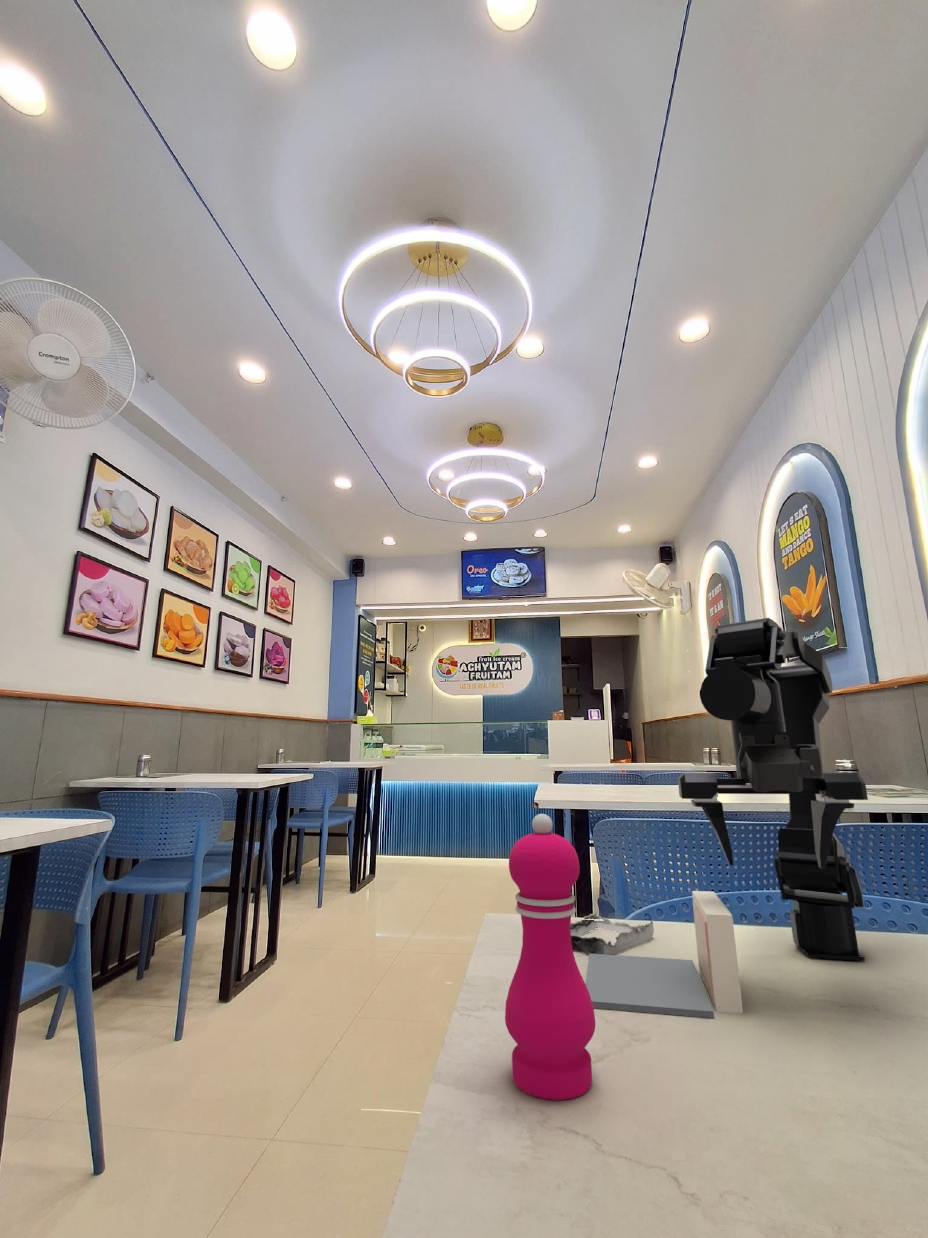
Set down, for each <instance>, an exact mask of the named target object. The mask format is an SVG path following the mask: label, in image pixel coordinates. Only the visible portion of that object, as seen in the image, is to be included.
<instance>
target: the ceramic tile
mask: <svg viewBox="0 0 928 1238" xmlns="http://www.w3.org/2000/svg"><path fill="white" fill-rule="evenodd" d="M691 894H692V908H693V909H692V910H693V911H692V912H693V918H694V919H693V921H694V931H695V940H696V951H697V953H696V954H697V961H698V967H699V973H700V975H701V978H702V980H703V983H704V986H705V988H706V991H707V992H708V995H709V997H710V1000H711V1002H712V1005H713V1007H714V1009H715V1012H720V1013H733V1014H744V1010H743V1001H742V992H741V982H740V973H739V964H738V955H737V954H738V953H737V947H736V945H737V944H736V936H735V928H734V920H733V917H734V916H733V914H732V913H731V912H730V911H729V909H728V908H727V907H726V905H725V904H724V903H723V902H722V900H721V899H720V898H719V896H718V895H717V894H716V893H715V891H707V890H706V891H705V890H704V891H703V890H702V891H701V890H692V891H691Z"/></svg>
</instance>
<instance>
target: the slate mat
mask: <svg viewBox="0 0 928 1238" xmlns="http://www.w3.org/2000/svg"><path fill="white" fill-rule="evenodd" d="M586 970H587V971H586V977H585V985H586V987H587V989H588V991H589V994H590V997H591V1000H592V1004H593V1008H594V1009H601V1010H609V1011H610V1010H613V1011H622V1012H623V1011H625V1012H636V1013H647V1014H648V1013H649V1014H657V1015H658V1014H659V1015H660V1014H661V1015H671V1016H682V1017H683V1016H684V1017H695V1018H704V1019H705V1018H706V1019H715V1015H714V1014H715V1013H714V1009H713V1007H712V1005H711V1002H710V999H709V998H708V995H707V992H706V990H705V988H704V984H703V982H702V979H701V977H700V975H699V972H698V970H697V967H696V965H695V962H694V960H692V959H684V958H683V959H681V958H666V957H665V958H664V957H650V956H649V957H648V956H635V955H634V956H633V955H621V954H620V955H618V954H615V955H606V954H590V953H589V954H588V963H587V969H586Z"/></svg>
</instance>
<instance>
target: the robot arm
mask: <svg viewBox="0 0 928 1238" xmlns="http://www.w3.org/2000/svg"><path fill="white" fill-rule="evenodd" d="M714 633H715V634H712V635H711V636H710V641H709V646H708V652H707V653H708V654H707V657H706V658H707V659H706V665H705V670H704V671H705V674H706V676H705V678H704V679H703V680H702V682H701V686H700V690H699V698H700V702H701V704H702V706H703V708H704V709H705V710H706V712H707V713H708V714H710V715H711V716H713V717H714V718H717V719H718V720H722V721H723V720H724V721H729V722H730V725H731V726H730V727H731V735H732V737H731V738H732V743H733V750H734V751H733V754H734V761H735V771H736V777H737V778H732V777H731V778H721V777H718V778H717V776H716V773H714V772H713V773H712V772H709V773H708V772H707V773H706V772H705V773H704V772H701V773H700V772H699V773H698V772H697V773H696V772H692V773H691V772H687V773H684V772H682V773H681V774H680V775H679V776H678V777H677V783H678V795H679V797H680V798H681V799H685V800H686V799H687V800H690V801H691V805H692V806H694V807H695V808H701V810H703V812H704V815H706V817H707V819H708V821H709V823H710V824H711V826H712V828H713V831H714V833H715V835H716V838H717V841H718V843H719V845H720V847H721V850H722V852H723V854H724V857H725V858H726V862H727V863H728V865H729V866H734V856H733V849H732V845H731V841H730V837H729V831H728V828H727V823H726V819H725V815H724V814H725V813H724V806H723V802H721V801H719V800H718V797H719V795H720V794H721V795H727V794H729V795H734V794H735V795H736V794H737V795H739V794H740V795H788V802H789V820H788V821H787V823H786V825H785V826H784V827H780V828H779V831H778V832H777V842H778V843H777V844H778V851H776V852H775V856H774V867H775V874H776V877H777V881H778V886H779V891H780V895H781V899H782V900H783V901H787V900H789V901H792V906H793V909H790V910H789V917H790V918H789V919H790V924H791V933H792V941H793V943H794V944H795V945H796V947H798V949H799V950H800V951H801V952H802V953H803V954H804V955H806V956H807V957H809V958H812V959H813V958H817V959H832V960H847V961H848V960H849V961H865V960H866V959H865V955H863V953H862V952H860V951H859V946H858V945H859V944H858V939H857V933H856V932H857V931H856V927H855V920H854V915H853V914H854V913H853V909H857V908H864V907H865V902H864V895H863V890H862V887H861V883H860V880H859V875H858V873H857V870H856V868H854V867H853V866H852V863H851V861H850V858H849V857H848V856H846V855H845V848H844V846H843V844H842V843H841V842H840V840H839V839H838V838H837V836H836V834H835V833H834V831H835V829H836V827H837V823H838V821H839V818H840V817H841V815H843V813H844V811H845V810H846V809H854V808H855V802H850V801H867V800H869V798H868V792H867V786H866V782H865V781H864V780H865V779H863V777H862V776H860V775H859V774H858V773H857V772H824V769H823V768H824V767H823V766H824V765H823V756H822V744H821V735H820V723H821V721H822V720H823V719H824V717H825V716H826V714H827V712H828V711H829V709H830V707H831V706H830V695H829V694H832V693H833V682H832V676H831V674H830V671H829V667H828V665H827V662H826V659H825V658H824V655H823V654H822V653H820V652H819V651H818V650H816V649H815V648H814V647H812V646H810V645H809V644H807V643H806V642H805V641H804V638H803V635H802V633H801V631H800V630H795V629H787V630H785V629H782V627H781V626H780V625H779V624H778V623H777V622H776V621H774V620H773V619H772V618H771V617H764V618H758V619H752V620H745V621H739V622H738V621H737V622H732V623H725V624H718V625H717V626H716V627H715V629H714ZM792 658H799V660H800V661H801V663H803V664H796V665H788V666H787V665H786V666H782V665H783V664H785V663H786V659H792ZM747 782H749V783H750V784H747ZM843 893H846V894H843Z"/></svg>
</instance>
